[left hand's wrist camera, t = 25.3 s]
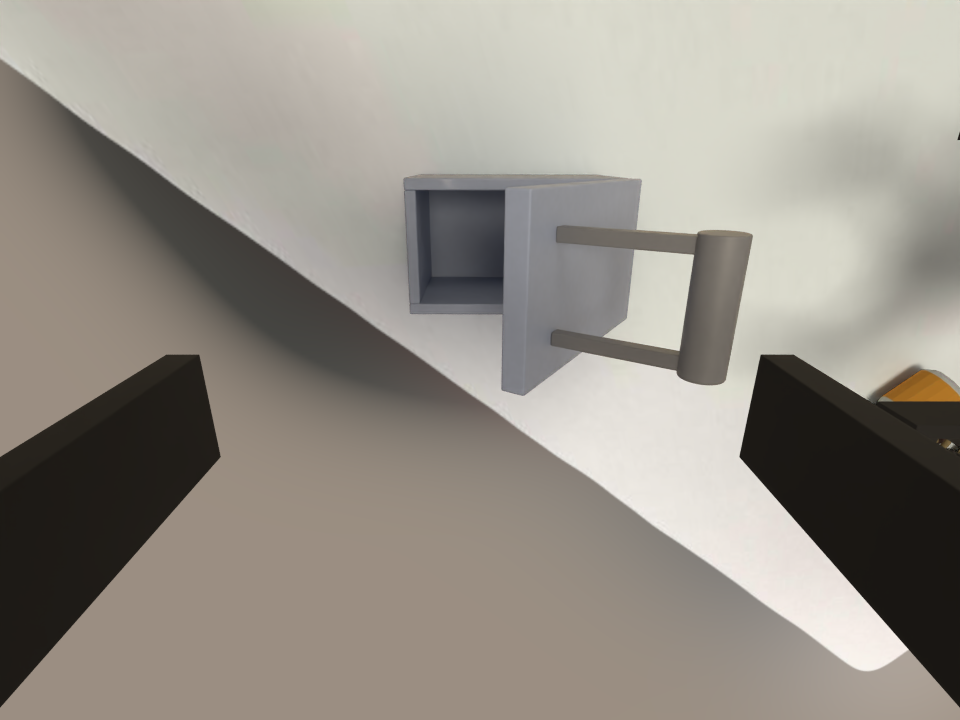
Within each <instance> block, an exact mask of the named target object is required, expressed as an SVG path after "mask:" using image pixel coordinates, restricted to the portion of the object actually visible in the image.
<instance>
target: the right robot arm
mask: <svg viewBox="0 0 960 720" xmlns="http://www.w3.org/2000/svg"><path fill="white" fill-rule="evenodd" d="M958 140H960V133H959V136H958ZM876 406H878V407H879V408H881V409H883V410H884V411H886V412H887V413H889V414H891V415H892V416H894V417H896V418H897V419H899V420H900V421H902V422H904V423H905V424H907V425H909V426H910V427H912V428H913V429H915V430H917V431H918V432H920V433H922V434H923V435H925V436H926V437H928V438H930V439H947V440H949V441H950V442H952V443H954V444H955V445H957V446H959V447H960V401H877V404H876Z"/></svg>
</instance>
